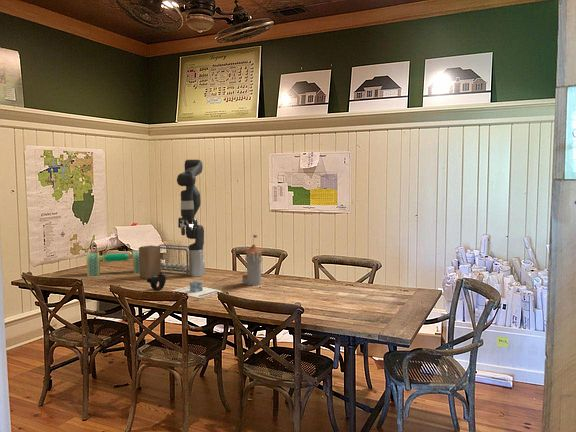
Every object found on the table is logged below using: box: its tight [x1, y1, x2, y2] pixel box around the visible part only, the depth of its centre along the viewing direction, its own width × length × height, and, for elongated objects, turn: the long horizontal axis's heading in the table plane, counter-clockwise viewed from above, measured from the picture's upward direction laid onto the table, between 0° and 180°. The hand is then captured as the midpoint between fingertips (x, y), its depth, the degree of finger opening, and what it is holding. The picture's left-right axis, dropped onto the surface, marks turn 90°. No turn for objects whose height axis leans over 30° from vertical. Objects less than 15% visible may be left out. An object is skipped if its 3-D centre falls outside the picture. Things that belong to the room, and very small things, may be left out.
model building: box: [242, 234, 263, 286], centre depth 284 cm, size 14×12×30 cm
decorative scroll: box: [86, 250, 140, 277], centre depth 316 cm, size 36×8×15 cm, turn 107°
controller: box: [146, 271, 167, 291], centre depth 270 cm, size 4×12×10 cm, turn 148°
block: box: [138, 245, 162, 280], centre depth 303 cm, size 10×10×20 cm
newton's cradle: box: [158, 244, 189, 276], centre depth 318 cm, size 30×10×18 cm, turn 69°
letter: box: [171, 285, 223, 299], centre depth 267 cm, size 18×24×1 cm
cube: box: [189, 280, 203, 293], centre depth 267 cm, size 5×5×5 cm
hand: (188, 235), depth 277 cm, fingers open, 8 cm apart
